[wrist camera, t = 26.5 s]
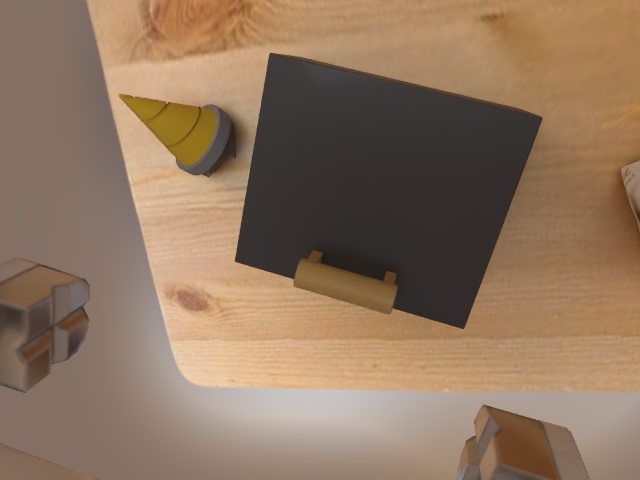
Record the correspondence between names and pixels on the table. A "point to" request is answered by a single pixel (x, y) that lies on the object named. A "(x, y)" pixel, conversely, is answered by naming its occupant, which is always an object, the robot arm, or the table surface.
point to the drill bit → (188, 132)
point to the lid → (379, 188)
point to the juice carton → (633, 187)
